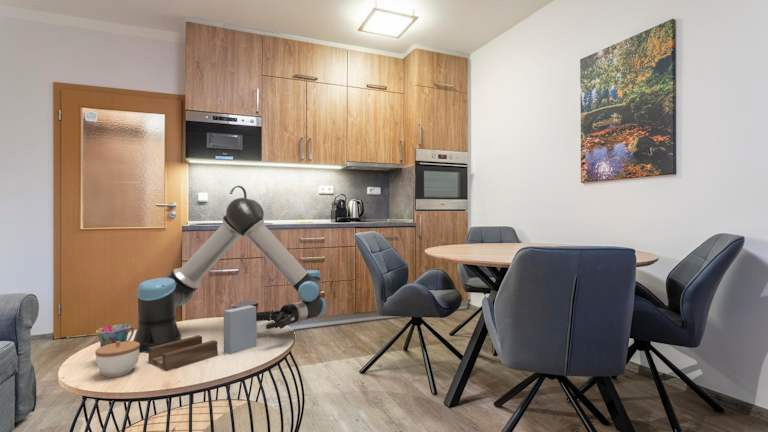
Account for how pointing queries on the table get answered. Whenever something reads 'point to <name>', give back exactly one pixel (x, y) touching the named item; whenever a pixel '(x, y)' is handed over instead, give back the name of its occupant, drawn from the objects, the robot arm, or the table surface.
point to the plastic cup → (246, 304)
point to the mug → (114, 334)
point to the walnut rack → (182, 352)
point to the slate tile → (239, 329)
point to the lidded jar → (117, 358)
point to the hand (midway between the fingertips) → (245, 325)
